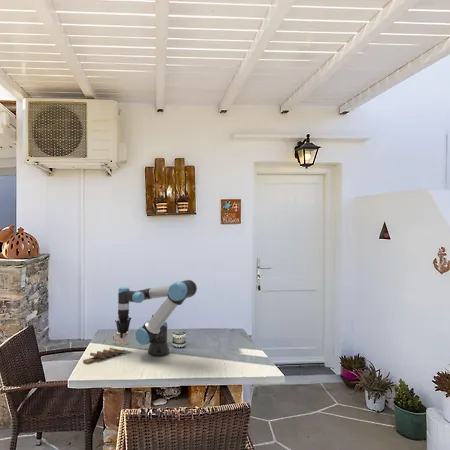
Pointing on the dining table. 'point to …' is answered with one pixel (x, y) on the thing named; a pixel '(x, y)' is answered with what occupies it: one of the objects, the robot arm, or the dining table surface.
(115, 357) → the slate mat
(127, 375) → the dining table surface
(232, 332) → the dining table surface
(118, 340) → the teacup with lid
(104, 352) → the tile
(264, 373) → the dining table surface
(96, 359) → the tile
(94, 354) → the tile
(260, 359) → the dining table surface
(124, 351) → the lead tile
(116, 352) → the tile
